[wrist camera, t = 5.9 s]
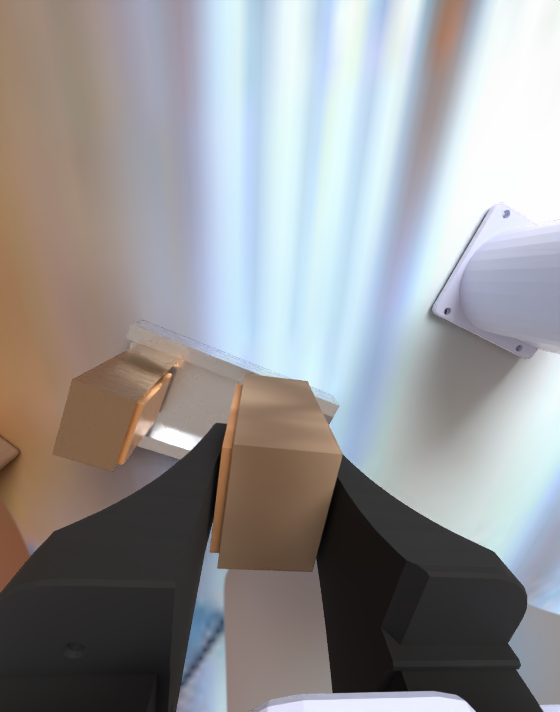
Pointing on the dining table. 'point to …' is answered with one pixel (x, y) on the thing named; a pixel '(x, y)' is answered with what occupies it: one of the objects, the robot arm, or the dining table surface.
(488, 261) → the robot arm
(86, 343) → the dining table surface
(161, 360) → the rail
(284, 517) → the tan cardboard box
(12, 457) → the wooden block
